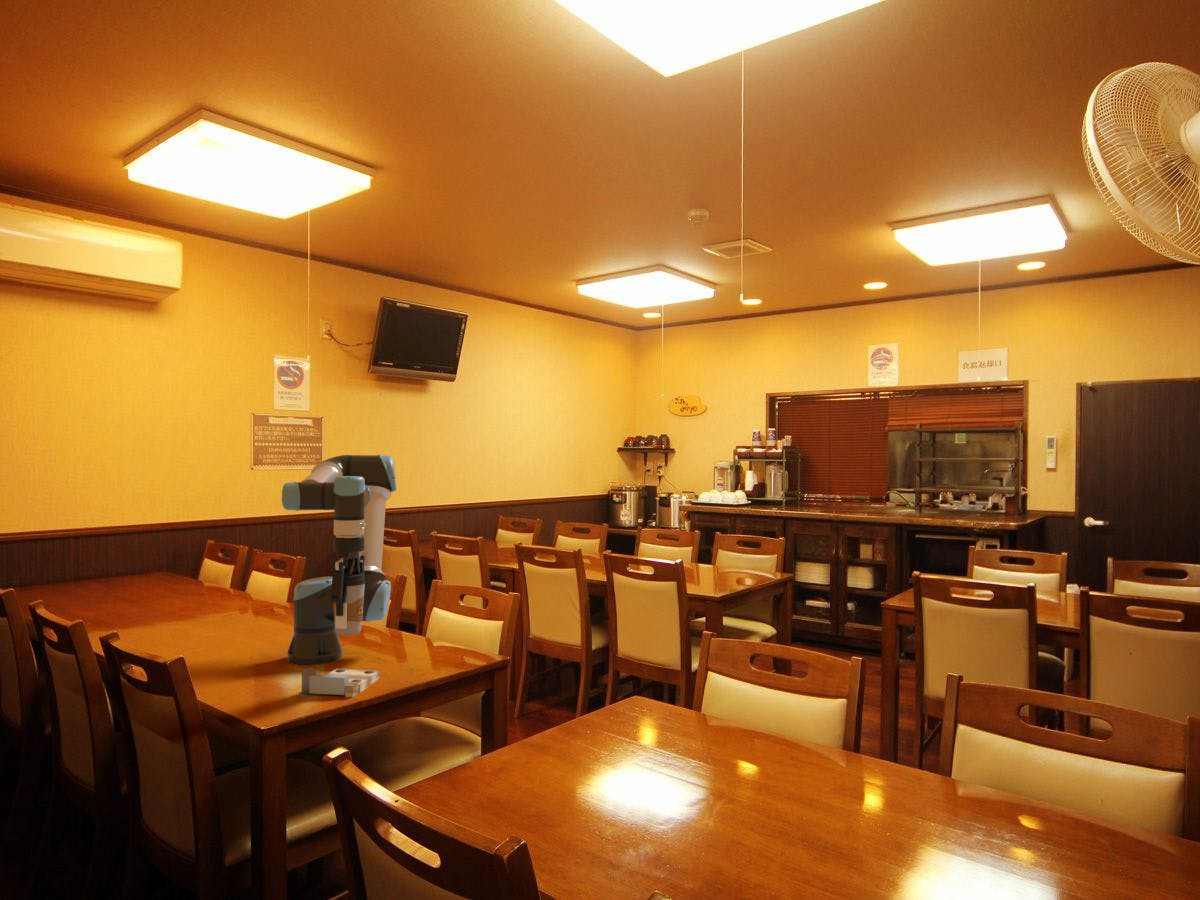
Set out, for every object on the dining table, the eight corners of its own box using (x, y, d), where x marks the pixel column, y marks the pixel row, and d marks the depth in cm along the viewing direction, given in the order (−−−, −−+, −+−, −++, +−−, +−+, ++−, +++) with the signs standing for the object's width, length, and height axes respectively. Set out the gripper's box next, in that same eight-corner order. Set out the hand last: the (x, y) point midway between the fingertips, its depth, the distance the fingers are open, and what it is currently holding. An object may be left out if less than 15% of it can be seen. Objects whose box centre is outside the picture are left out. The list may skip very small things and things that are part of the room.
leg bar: (299, 693, 186) (299, 673, 186) (305, 689, 189) (305, 669, 189) (343, 695, 184) (344, 675, 184) (349, 691, 188) (349, 671, 188)
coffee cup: (354, 637, 189) (355, 577, 189) (324, 635, 191) (325, 576, 191) (371, 629, 198) (371, 572, 198) (342, 628, 199) (342, 571, 199)
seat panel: (327, 677, 201) (327, 665, 201) (379, 679, 200) (379, 667, 200) (295, 697, 185) (295, 684, 185) (352, 700, 184) (352, 686, 184)
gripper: (345, 540, 184) (344, 634, 184) (379, 532, 204) (378, 616, 204) (315, 540, 185) (315, 633, 185) (352, 531, 205) (352, 615, 205)
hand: (348, 624), depth 194 cm, fingers closed on coffee cup, 7 cm apart
